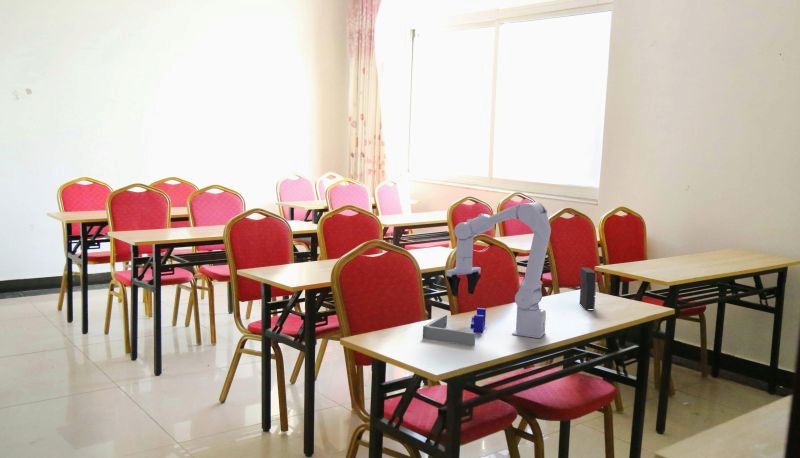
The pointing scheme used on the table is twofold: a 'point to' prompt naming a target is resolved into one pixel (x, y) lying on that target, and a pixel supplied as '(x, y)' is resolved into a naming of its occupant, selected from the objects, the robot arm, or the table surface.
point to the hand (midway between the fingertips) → (462, 294)
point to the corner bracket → (447, 333)
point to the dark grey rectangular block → (587, 288)
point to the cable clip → (479, 320)
